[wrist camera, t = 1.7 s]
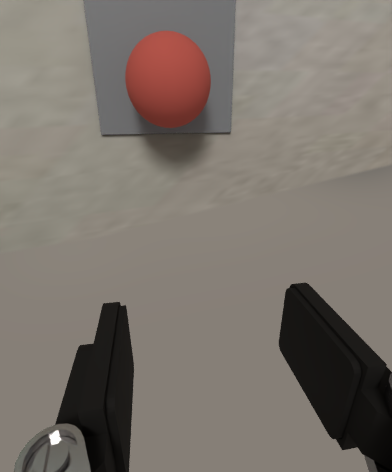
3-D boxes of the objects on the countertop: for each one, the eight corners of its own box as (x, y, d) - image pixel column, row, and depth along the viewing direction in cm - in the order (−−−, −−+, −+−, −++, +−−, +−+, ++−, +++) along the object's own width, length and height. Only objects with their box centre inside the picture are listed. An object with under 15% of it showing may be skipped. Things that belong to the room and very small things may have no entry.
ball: (168, 142, 24) (174, 149, 19) (111, 86, 22) (100, 76, 17) (217, 87, 23) (238, 78, 18) (163, 23, 21) (168, -10, 16)
